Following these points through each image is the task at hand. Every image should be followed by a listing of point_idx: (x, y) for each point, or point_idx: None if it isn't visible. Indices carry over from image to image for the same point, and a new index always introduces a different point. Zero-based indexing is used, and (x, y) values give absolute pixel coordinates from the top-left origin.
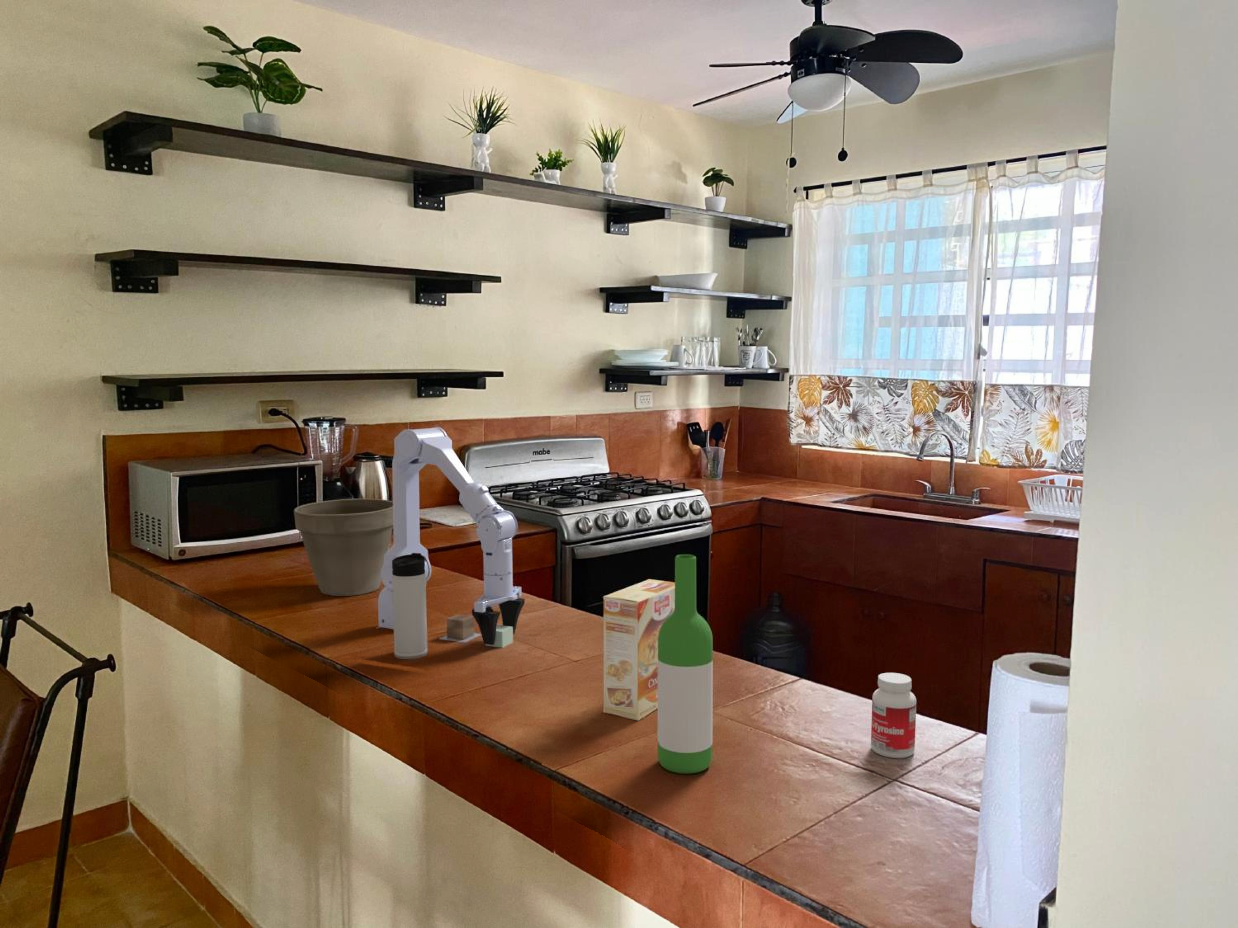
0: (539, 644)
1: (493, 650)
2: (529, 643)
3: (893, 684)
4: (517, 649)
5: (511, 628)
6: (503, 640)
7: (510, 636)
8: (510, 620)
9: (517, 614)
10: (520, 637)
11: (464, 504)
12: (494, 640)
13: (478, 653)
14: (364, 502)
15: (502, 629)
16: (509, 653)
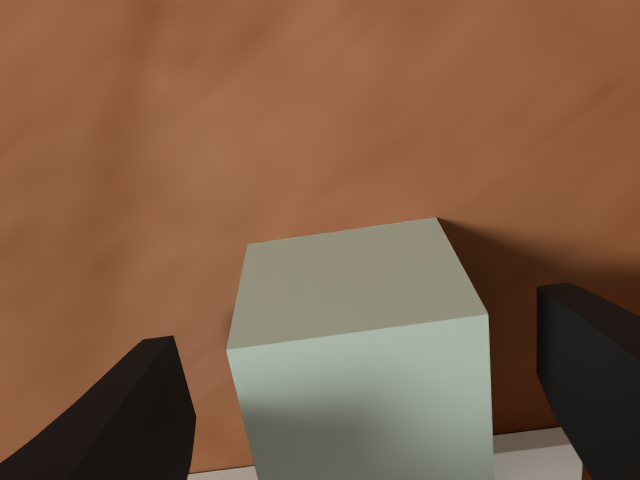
0: (51, 41)
1: None
2: (98, 155)
3: None
4: (325, 129)
5: (258, 337)
6: (438, 262)
7: (291, 285)
8: (133, 473)
9: (41, 471)
10: (19, 339)
11: None
12: (570, 294)
13: None
14: None
15: (400, 371)
16: (473, 112)
